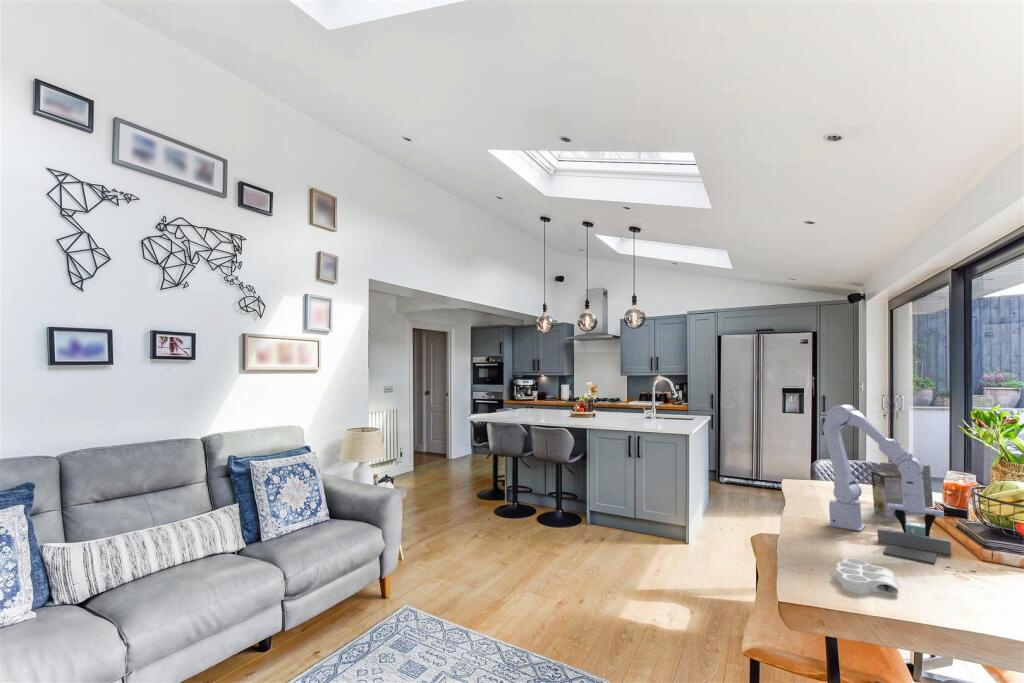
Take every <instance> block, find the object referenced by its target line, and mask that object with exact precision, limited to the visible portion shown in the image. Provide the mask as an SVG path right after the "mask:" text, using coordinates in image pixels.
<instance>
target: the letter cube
mask: <svg viewBox="0 0 1024 683" xmlns="http://www.w3.org/2000/svg"><path fill="white" fill-rule="evenodd" d="M905 530H906V533H910V534H916V535H922V536H926V526H925V523H919V522H914V521H907V520H906V524H905Z"/></svg>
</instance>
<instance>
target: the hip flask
mask: <svg viewBox="0 0 1024 683" xmlns="http://www.w3.org/2000/svg"><path fill="white" fill-rule="evenodd" d="M879 463H880V464H879V465H880V471H889V472H891V473H894V474H896V475H899V476H901V473H900V472H899V470H898V465H896V464H894V463H893V462H892V461H880V462H879ZM923 465H924V469H923V471H922V472H921V473H922V477H923V485H924V497H925V508H927V507H933V508H934V502H933V489H932V487H933V486H932V476H931V474H932V473H931V466H930V465H929V464H924V463H923ZM921 473H919V474H921ZM901 479H902V477H901ZM901 486H902V482H901ZM902 500H903V495H902Z"/></svg>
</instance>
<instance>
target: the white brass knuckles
mask: <svg viewBox="0 0 1024 683" xmlns="http://www.w3.org/2000/svg"><path fill="white" fill-rule="evenodd" d="M830 569H832V570H834V571H835V572H834V573H831V574H830V577H833V578H835V580H836V581H837V582H838V583H840V584H841V587H842V589H844V590H845V591H848V592H850V593H854V594H860V595H868V594H870V593H880V594H884V595H889V596H896V595H897V594H899V588H898V583H897V579H896V573H895V572H894V571H892V570H891V569H889V568H886V567H883V566H879V565H873V564H870V563H868V562H867V561H864V560H862V559H858V558H855V557H854V558H853V557H843V558H842V559H841V561H838V562H837V563H836V564H835V566H831V567H830ZM885 585H887V587H888V589H887V590H888V591H887V590H886V589H885Z"/></svg>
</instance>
